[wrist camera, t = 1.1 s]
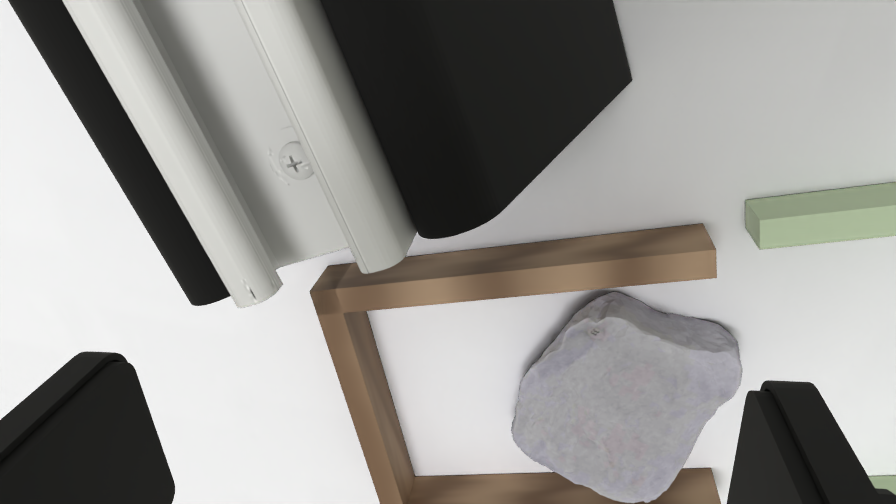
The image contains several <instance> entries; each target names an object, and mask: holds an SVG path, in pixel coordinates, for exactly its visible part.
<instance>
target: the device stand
mask: <svg viewBox="0 0 896 504" xmlns="http://www.w3.org/2000/svg"><path fill="white" fill-rule="evenodd" d="M8 1H9V2H10V4H11V6H12V7H13V9H14V11H15V12H16V14H17V16H18V17H19V19H20V21H21V22H22V24H23V26H24V27H25V29H26V31H27V32H28V34H29V36H30V37H31V39H32V41H33V42H34V44H35V46H36V47H37V49H38V51H39V52H40V54H41V56H42V57H43V59H44V60H45V62H46V64H47V65H48V67H49V69H50V70H51V72H52V74H53V75H54V77H55V79H56V80H57V82H58V84H59V85H60V87H61V89H62V90H63V92H64V94H65V95H66V97H67V99H68V100H69V102H70V104H71V105H72V107H73V109H74V110H75V112H76V114H77V115H78V117H79V119H80V120H81V122H82V124H83V125H84V127H85V128H86V130H87V132H88V133H89V135H90V137H91V138H92V140H93V142H94V143H95V145H96V147H97V148H98V150H99V152H100V153H101V155H102V157H103V158H104V160H105V162H106V163H107V165H108V167H109V168H110V170H111V172H112V173H113V175H114V177H115V178H116V180H117V182H118V183H119V185H120V187H121V188H122V190H123V192H124V193H125V195H126V196H127V198H128V200H129V201H130V203H131V205H132V206H133V208H134V210H135V211H136V213H137V215H138V216H139V218H140V220H141V221H142V223H143V225H144V226H145V228H146V230H147V231H148V233H149V235H150V236H151V238H152V240H153V241H154V243H155V245H156V246H157V248H158V250H159V251H160V253H161V255H162V256H163V258H164V260H165V261H166V263H167V265H168V266H169V268H170V269H171V271H172V273H173V274H174V276H175V278H176V279H177V281H178V283H179V284H180V286H181V288H182V289H183V291H184V293H185V294H186V296H187V298H188V299H189V301H190V303H191V304H192V305H195V306H201V305H207V304H211V303H214V302H217V301H220V300H222V299H225V298H227V297H229V296H231V297H232V299H233V300H234V302H235V304H236V306H237V307H238V308H245V307H248V306H252V305H256V304H259V303H261V302H263V301H265V300H267V299H269V298H270V297H272V296H273V295H274V294H275V293H276V292H277V291H278V290H279V289H280V287H281V286H282V285H283V283H282V282H281V280H280V278H279V276H278V274H277V272H276V269H278V268H280V267H283V266H286V265H290V264H293V263H297V262H300V261H304V260H307V259H311V258H314V257H317V256H321V255H324V254H328V253H331V252H335V251H338V250H342V249H345V248H349V247H350V249H351V252H352V254H353V256H354V258H355V260H356V262H357V264H358V266H359V268H360V271H361V272H362V273H364V274H369V273H373V272H377V271H381V270H384V269H387V268H390V267H392V266H394V265H396V264H397V263H399V262H400V261H402V260H403V259H404V257H405V256H406V254H407V252H408V249H409V247H410V245H411V243H412V241H413V239H414V237H415V235H416V233H417V231H418V234H419V235H420V236H421V237H423V238H427V239H438V238H445V237H450V236H454V235H458V234H461V233H464V232H467V231H469V230H472V229H474V228H476V227H479V226H481V225H483V224H484V223H486V222H488V221H490V220H491V219H493V218H494V217H496V216H497V215H498V214H500V213H501V212H502V211H503V210H504V209H505V208H506V207H507V206H508V205H509V204H510V203H511V202H512V201H513V200H514V199H515V198H516V197H517V196H518V195H519V194H520V193H521V192H522V191H523V190H524V189H525V188H526V187H527V186H528V185H529V184H530V183H531V182H532V181H533V180H534V179H535V178H536V177H537V176H538V175H539V174H540V173H541V172H542V171H543V170H544V169H545V168H546V167H547V166H548V165H549V164H550V162H551V161H552V160H553V159H554V158H555V157H556V156H557V155H558V154H559V153H560V152H561V151H562V150H563V149H564V148H565V147H566V146H567V145H568V144H569V143H570V142H571V141H572V140H573V139H574V138H575V137H576V136H577V135H578V134H579V133H580V132H581V131H582V130H583V129H584V128H585V127H586V126H587V125H588V124H589V123H590V122H591V121H592V120H593V119H594V118H595V117H596V116H597V115H598V114H599V113H600V112H601V111H602V110H603V109H604V108H605V107H606V106H607V105H608V104H609V103H610V102H611V101H612V100H613V99H614V98H615V97H616V96H617V95H618V94H619V93H620V92H621V91H622V90H623V89H624V88H625V87H626V86H627V85H628V84H629V83H630V82H631V81H632V77H631V73H630V69H629V65H628V61H627V57H626V53H625V49H624V45H623V41H622V37H621V33H620V29H619V25H618V21H617V17H616V13H615V9H614V5H613V1H612V0H8Z"/></svg>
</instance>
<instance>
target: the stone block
mask: <svg viewBox="0 0 896 504" xmlns="http://www.w3.org/2000/svg"><path fill="white" fill-rule="evenodd" d="M741 377H742V365H741V361H740V356H739V347H738V342H737V341H736V340H735V338H734V337H733V336H732V335H731V334H730V333H729V332H728V331H726V330H725V329H724V328H723V327H721V326H720V325H719V324H716V323H712V322H709V321H706V320H699V319H697V318H694V317H685V316H682V315H677V314H665V313H662V312H659V311H656V310H654V309H652V308H651V307H649V306H647V305H645V304H644V303H643V302H641V301H640V300H637V299H634V298H631V297H628V296H626V295H624V294H622V293H617V292H611V293H609V294H606V295H603V296H601V297H598V298H596V299H594V300H592V301H591V302H589V303H588V304H587V306H585V307H584V308H582V309H581V310H580V311H578V312H577V313H576V314H574V315H573V317H572V318H571V320H570V321H569V322H568V323H567V324H566V326H565V327H564V328H563V329H562V331H561V332H560V334H559V335H558V336H557V338H556V339H555V340H554V342H552V343H551V344H550V346H549V347H548V348H547V349H546V350H545V351H544V352H543V354H542V356H541V357H540V359H539V360H538V361H537V362H535V363H534V364H533V365H532V366H531V368H530V369H529V370H528V372H527V373H526V374H525V376H524V377H523V378H522V380H521V382H520V388H519V398H518V399H519V400H518V402H517V405H516V415H515V417H514V419H513V422H512V428H511V431H512V434H513V440H514V442H515V443H516V444H517V446H518V447H520V448H521V450H522V451H523V452H524V453H525V454H526V455H527V456H529V457H530V458H531V459H532V460H533V461H535V462H538V463H540V464H541V465H544V466H546V467H548V468H549V469H551V470H552V471H554V472H556V473H558V474H560V475H561V476H563V477H565V478H567V479H568V480H570V481H571V482H573V483H574V484H579V485H583V486H586V487H589V488H591V489H592V490H594V491H595V492H597V493H598V494H600V495H603V496H605V497H607V498H610V499H612V500H615V501H620V502H625V503H636V502H641V501H644V502H645V503H648V502H650V501H651V500H655V499H657V498H658V497H659V496H660V495H661V494H662V493H663V492H664V491H667V489H668V488H669V487H670V485H671V484H672V482H673V481H674V480H675V478H676V476H677V474H678V473H679V471H680V470H681V469H682V467H683V465H684V464H685V462H686V460H687V458H688V456H689V455H690V453H691V451H692V449H693V447H694V444H695V442H696V440H697V438H698V436H699V434H700V432H701V431H702V429H703V427H704V426H705V424H706V422H707V421H708V420H709V419H710V418H711V417H712V416H713V415H714V414H715V412H716V410H717V408H718V407H719V406H721V405H722V404H724V403H725V402H726V401H728V400H730V399H731V398H732V397H733V396H734V394H735V393H736V391H737V389H738V388H739V386H740V383H741Z"/></svg>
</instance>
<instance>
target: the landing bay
mask: <svg viewBox="0 0 896 504" xmlns="http://www.w3.org/2000/svg"><path fill="white" fill-rule="evenodd" d="M745 218H746V229H747V231H748V232H749V234H750V235H751V237H752V239H753V240H754V242H755V243H756V245H757V246H758V248H759V249H760V250H761V249H771V248H781V247H791V246H800V245H810V244H820V243H830V242H840V241H849V240H859V239H869V238H879V237H889V236H896V182H893V183H885V184H876V185H868V186H859V187H851V188H843V189H834V190H826V191H818V192H809V193H801V194H792V195H784V196H776V197H767V198H759V199H751V200H745ZM868 477H869V479H870V481H871V482H872V484H873V486H874V487H875V488H879V489H888V490H889V491H891V492H892V493H894V494H895V495H896V476H868Z"/></svg>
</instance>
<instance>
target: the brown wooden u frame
mask: <svg viewBox="0 0 896 504" xmlns="http://www.w3.org/2000/svg"><path fill="white" fill-rule="evenodd" d="M710 278H717V269H716V248H715V246H714V245H713V243H712V241H711V239H710V237H709V235H708V233H707V231H706V229H705V227H704V225H703V224H694V225H685V226H676V227H668V228H659V229H650V230H641V231H632V232H623V233H615V234H606V235H597V236H588V237H579V238H570V239H562V240H553V241H544V242H535V243H526V244H517V245H509V246H500V247H491V248H482V249H473V250H464V251H455V252H447V253H438V254H429V255H420V256H411V257H404V259H403V260H402V261H400V262H399V263H397V264H396V265H394V266H392V267H390V268H387V269H384V270H381V271H377V272H373V273H369V274H364V273H362V272H361V271H360V268H359V266H358V264H357V263H349V264H341V265H332V266H328V267H327V268H326V269H325V271H324V272H323V274H322V275H321V276H320V278H319V279H318V281H317V282H316V283H315V285H314V286H313V288H312V289H311V290H310V294H311V297H312V300H313V303H314V306H315V309H316V312H317V315H318V318H319V321H320V324H321V327H322V330H323V333H324V336H325V339H326V342H327V345H328V348H329V351H330V354H331V357H332V360H333V363H334V366H335V369H336V372H337V375H338V378H339V381H340V384H341V387H342V390H343V393H344V396H345V399H346V402H347V405H348V408H349V411H350V414H351V417H352V420H353V423H354V426H355V429H356V432H357V435H358V438H359V441H360V444H361V447H362V450H363V453H364V456H365V459H366V462H367V465H368V468H369V471H370V474H371V477H372V480H373V483H374V486H375V489H376V492H377V495H378V498H379V501H380V504H721V502H720V498H719V495H718V491H717V488H716V484H715V481H714V477H713V474H712V470H711V468H698V469H681V470H680V471H679V473H678V474H677V476H676V478H675V480H674V481H673V482H672V484H671V485H670V487H669V488H668V489H667V491H664V492H663V493H662V494H661V495H660V496H659V497H658V498H657V499H655V500H651V501H650V502H648V503H645V502H644V501H641V502H636V503H625V502H620V501H615V500H612V499H610V498H607V497H605V496H603V495H600V494H598V493H597V492H595V491H594V490H592V489H591V488H589V487H586V486H583V485H579V484H574V483H573V482H571V481H570V480H568V479H567V478H565V477H563V476H561V475H560V474H558V473H524V474H490V475H455V476H420V477H415V475H414V472H413V468H412V465H411V462H410V458H409V455H408V451H407V448H406V445H405V441H404V438H403V434H402V431H401V428H400V424H399V421H398V417H397V414H396V411H395V407H394V404H393V400H392V397H391V394H390V390H389V387H388V384H387V380H386V377H385V373H384V370H383V367H382V363H381V360H380V356H379V353H378V350H377V346H376V343H375V339H374V336H373V333H372V329H371V326H370V322H369V319H368V316H367V312H366V311H369V310H380V309H391V308H401V307H412V306H423V305H433V304H444V303H454V302H465V301H476V300H486V299H497V298H508V297H518V296H529V295H540V294H550V293H561V292H572V291H582V290H593V289H603V288H614V287H625V286H635V285H646V284H657V283H667V282H678V281H689V280H699V279H710Z"/></svg>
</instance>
